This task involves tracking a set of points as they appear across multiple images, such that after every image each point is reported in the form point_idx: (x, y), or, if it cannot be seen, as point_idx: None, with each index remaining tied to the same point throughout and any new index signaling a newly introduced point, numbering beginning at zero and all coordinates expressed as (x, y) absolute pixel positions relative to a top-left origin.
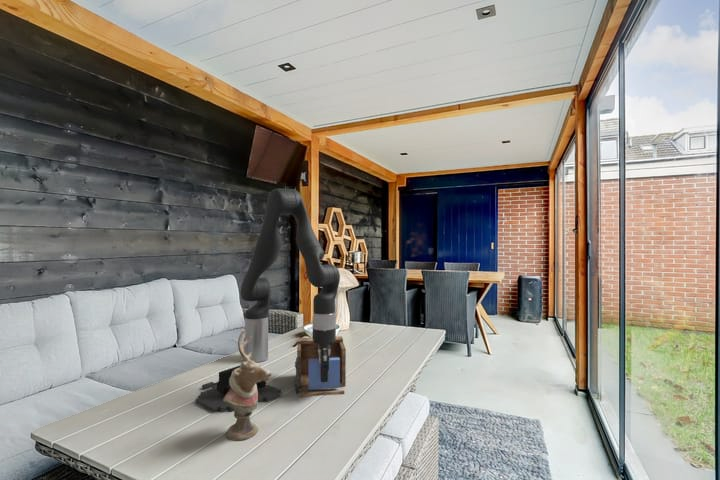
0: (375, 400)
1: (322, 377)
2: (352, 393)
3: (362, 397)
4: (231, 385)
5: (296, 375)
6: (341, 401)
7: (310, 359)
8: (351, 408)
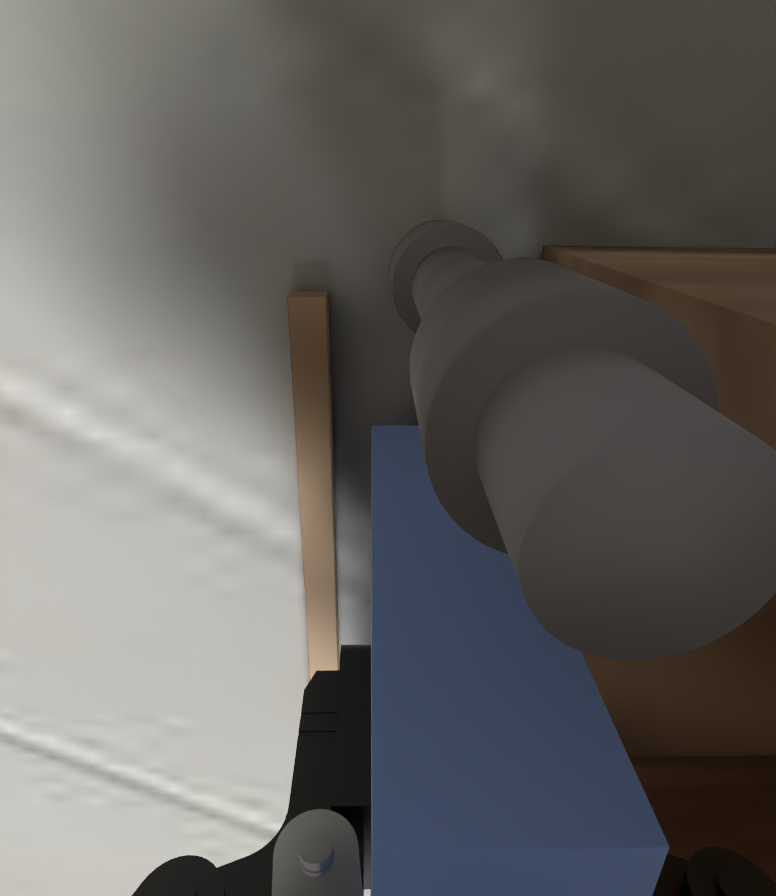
0: None
1: (303, 719)
2: None
3: (225, 833)
4: None
5: (437, 275)
6: (145, 699)
7: (574, 893)
8: (6, 753)
